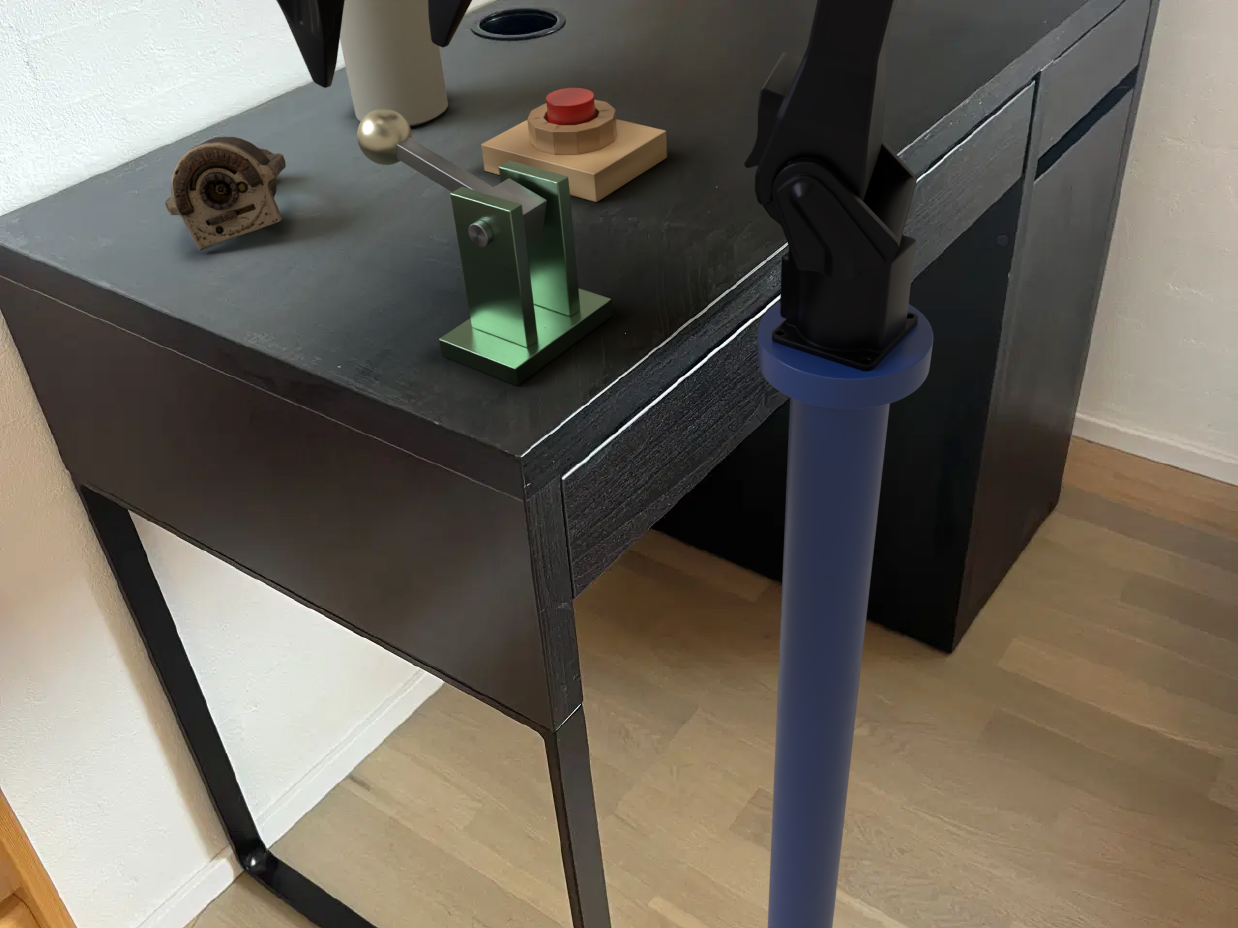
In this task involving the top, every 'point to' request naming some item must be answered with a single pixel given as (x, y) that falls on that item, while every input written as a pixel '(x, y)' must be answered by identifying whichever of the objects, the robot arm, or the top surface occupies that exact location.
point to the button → (570, 106)
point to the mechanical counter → (225, 190)
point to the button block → (580, 150)
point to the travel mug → (392, 59)
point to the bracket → (519, 280)
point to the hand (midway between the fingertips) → (383, 64)
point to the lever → (440, 165)
